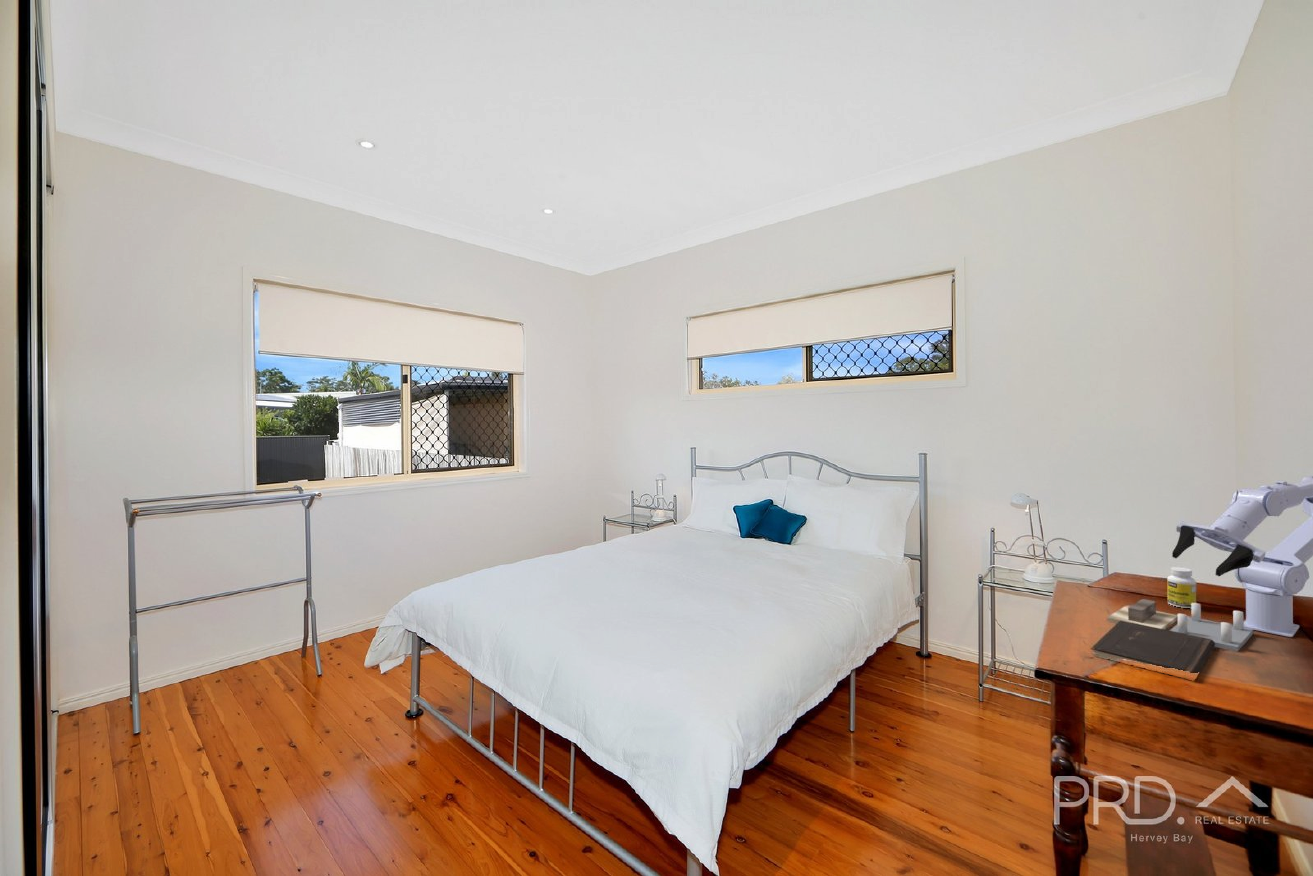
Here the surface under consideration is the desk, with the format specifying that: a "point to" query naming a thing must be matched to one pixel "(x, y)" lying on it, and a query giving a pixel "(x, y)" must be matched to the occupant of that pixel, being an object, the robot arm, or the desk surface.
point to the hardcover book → (1154, 647)
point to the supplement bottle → (1181, 588)
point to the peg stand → (1215, 629)
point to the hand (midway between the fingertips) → (1195, 563)
